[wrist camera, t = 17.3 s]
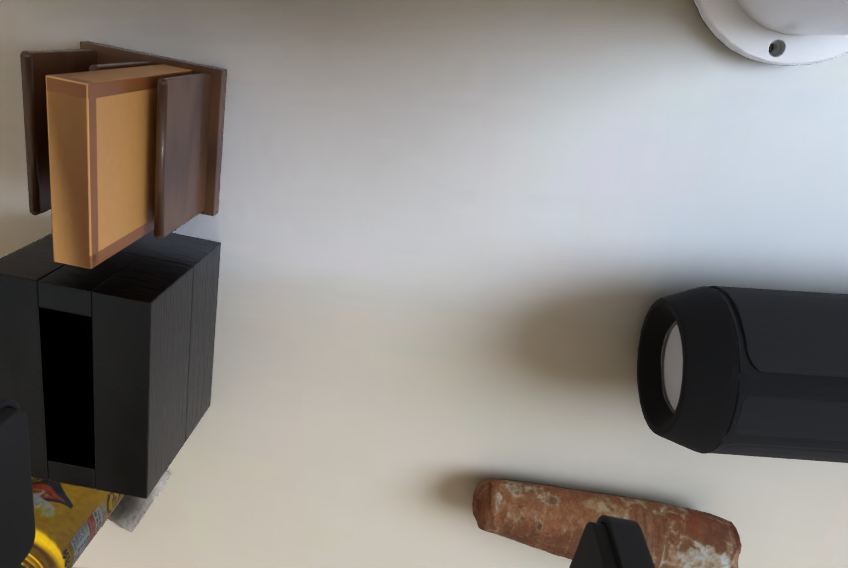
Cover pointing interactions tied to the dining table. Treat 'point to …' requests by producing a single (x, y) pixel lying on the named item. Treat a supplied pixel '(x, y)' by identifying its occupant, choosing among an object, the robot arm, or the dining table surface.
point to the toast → (102, 159)
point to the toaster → (109, 357)
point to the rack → (175, 128)
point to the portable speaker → (748, 372)
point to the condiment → (77, 519)
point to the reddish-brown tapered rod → (572, 509)
